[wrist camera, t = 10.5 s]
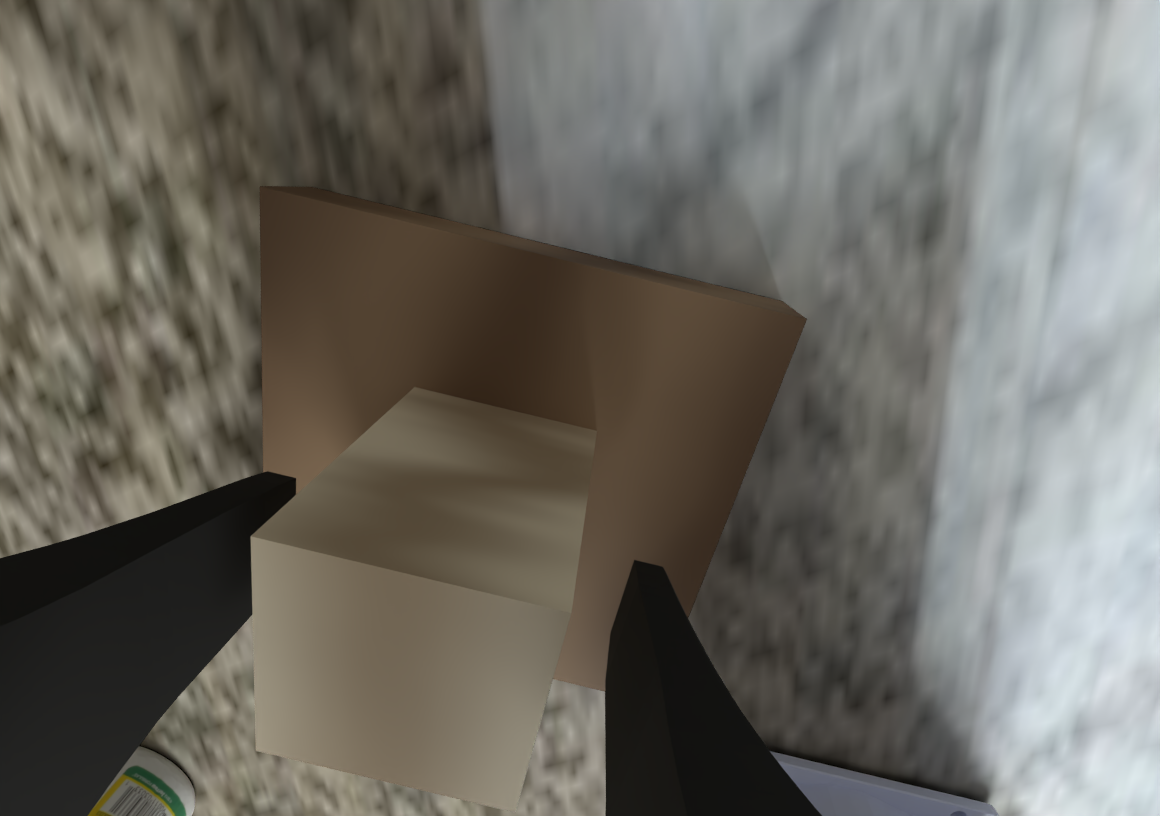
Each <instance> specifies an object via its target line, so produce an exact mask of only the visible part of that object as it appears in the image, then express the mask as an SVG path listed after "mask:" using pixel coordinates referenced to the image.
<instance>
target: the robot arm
mask: <svg viewBox="0 0 1160 816" xmlns="http://www.w3.org/2000/svg"><path fill="white" fill-rule="evenodd" d="M295 495H296V478H294V477H290V476H285V475H281V474H277V473H273V472H269V471H267V472H264V473H260V474H257V475H254V476H251V477H248V478H245V479H242V480H239V481H236V482H234V483H231V484H228V485H226V486H223V487H220V488H217V489H215V490H212V491H209V492H207V493H204V494H201V495H199V496H196V497H193V498H190V499H188V500H185V501H182V502H179V503H177V504H174V505H171V506H168V507H166V508H163V509H160V510H157V511H155V512H152V513H149V514H146V515H143V516H140V517H137V518H134V519H131V520H128V521H125V522H122V523H119V524H116V525H113V526H110V527H107V528H104V529H101V530H98V531H95V532H92V533H89V534H86V535H82V536H79V537H76V538H72V539H69V540H66V541H62V542H59V543H55V544H52V545H48V546H45V547H41V548H37V549H34V550H30V551H26V552H22V553H18V554H15V555H11V556H7V557H3V558H0V816H88V815H89V813H90V812H91V810H92V809H93V808H94V806H95V805H96V803H97V802H98V801H99V799H100V798H101V797H102V795H103V794H104V792H105V791H106V790H107V788H108V787H109V785H110V784H111V783H112V781H113V780H114V778H115V777H116V776H117V774H118V773H119V772H120V770H121V769H122V768H123V766H124V765H125V764H126V762H127V761H128V760H129V758H130V757H131V756H132V754H133V753H134V752H135V750H136V749H137V748H138V747H139V745H140V744H141V743H142V741H143V740H144V739H145V737H146V736H147V735H148V733H149V732H150V731H151V729H152V728H153V727H154V725H155V724H156V723H157V721H158V720H159V719H160V718H161V717H162V715H163V714H164V713H165V712H166V711H167V709H168V708H169V707H170V706H171V705H172V703H173V702H174V701H175V700H176V699H177V697H178V696H179V695H180V694H181V693H182V692H183V691H184V690H185V688H186V687H187V686H188V685H189V684H190V683H191V682H192V681H193V680H194V679H195V677H196V676H197V675H198V674H199V673H200V672H201V671H202V670H203V669H204V667H205V666H206V665H207V664H208V663H209V662H210V661H211V660H212V659H213V657H214V656H215V655H216V654H217V653H218V652H219V651H220V650H221V649H222V648H223V646H224V645H225V644H226V643H227V642H228V641H229V640H230V639H231V638H232V636H233V635H234V634H235V633H236V632H237V631H238V630H239V629H240V628H241V626H242V625H243V624H244V623H245V622H246V621H247V620H248V619H249V617H250V616H251V615H252V614H253V613H252V573H251V535H253V534H254V533H255V532H256V531H257V530H258V529H259V528H260V527H261V526H262V525H264V524H265V523H266V522H267V521H268V520H269V519H270V518H271V517H272V516H273V515H275V514H276V513H277V512H278V511H279V510H280V509H281V508H282V507H283V506H284V505H286V504H287V503H288V502H289V501H290V500H291V499H292V498H293V497H294V496H295ZM605 729H606V816H999V815H998V813H997V811H996V810H995V808H994V807H993V806H992V805H990V804H987V803H984V802H980V801H976V800H972V799H968V798H963V797H959V796H955V795H951V794H947V793H943V792H938V791H934V790H930V789H926V788H922V787H918V786H913V785H909V784H905V783H901V782H897V781H893V780H888V779H884V778H880V777H876V776H872V775H868V774H863V773H859V772H855V771H851V770H847V769H843V768H838V767H834V766H830V765H826V764H822V763H818V762H813V761H809V760H805V759H801V758H797V757H793V756H788V755H784V754H780V753H776V752H772V751H769V750H768V748H767V747H766V746H765V744H764V743H763V741H762V740H761V739H760V737H759V736H758V734H757V733H756V732H755V730H754V729H753V727H752V726H751V724H750V723H749V722H748V720H747V719H746V717H745V716H744V715H743V713H742V712H741V710H740V709H739V707H738V705H737V704H736V702H735V701H734V699H733V698H732V696H731V694H730V693H729V691H728V690H727V688H726V686H725V685H724V683H723V681H722V680H721V678H720V676H719V675H718V673H717V671H716V670H715V668H714V666H713V664H712V663H711V661H710V659H709V657H708V656H707V654H706V652H705V650H704V648H703V646H702V644H701V643H700V641H699V639H698V637H697V635H696V633H695V631H694V629H693V627H692V626H691V624H690V622H689V620H688V618H687V616H686V613H685V611H684V609H683V607H682V605H681V603H680V601H679V599H678V597H677V595H676V593H675V590H674V588H673V586H672V584H671V582H670V579H669V577H668V575H667V573H666V571H665V569H664V568H663V567H662V566H658V565H654V564H650V563H646V562H641V561H637V560H634V562H633V565H632V568H631V571H630V574H629V577H628V580H627V583H626V587H625V590H624V593H623V596H622V599H621V602H620V605H619V608H618V611H617V614H616V617H615V620H614V623H613V626H612V629H611V632H610V641H609V650H608V659H607V669H606V679H605Z"/></svg>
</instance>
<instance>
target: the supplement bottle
mask: <svg viewBox="0 0 1160 816" xmlns="http://www.w3.org/2000/svg"><path fill="white" fill-rule="evenodd" d="M194 807H195V792H194V788H193V786H192V784H191V782H190V780H189V779H188V777H187V776H186V775H185V774H184V772H183V771H182V770H181V769H179V768H178V767H177V766H176V765H175V764H174V763H173V762H171V761H170V760H168V759H167V758H165V757H163V756H162V755H160V754H158V753H156V752H154V751H152V750H149V749H147V748H144V747H140V746H139V747H138V748H137V749H136V750H135V752H134V753H133V754H132V756H131V757H130V758H129V760H128V761H127V762H126V764H125V765H124V766H123V768H122V769H121V770H120V772H119V773H118V774H117V776H116V777H115V778H114V780H113V781H112V783H111V784H110V785H109V787H108V788H107V790H106V791H105V792H104V794H103V795H102V797H101V798H100V799H99V801H98V802H97V803H96V805H95V806H94V808H93V809H92V810H91V812H90V813H89V815H88V816H192V814H193V811H194Z"/></svg>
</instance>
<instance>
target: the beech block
mask: <svg viewBox="0 0 1160 816" xmlns="http://www.w3.org/2000/svg"><path fill="white" fill-rule="evenodd" d="M596 434H597V431H595V430H591V429H587V428H583V427H579V426H574V425H570V424H566V423H562V422H558V421H554V420H549V419H545V418H541V417H537V416H533V415H529V414H525V413H520V412H516V411H512V410H508V409H504V408H500V407H495V406H491V405H487V404H483V403H479V402H475V401H471V400H466V399H462V398H458V397H454V396H450V395H446V394H441V393H437V392H433V391H429V390H425V389H421V388H417V387H414V388H413V389H412V390H411V391H410V392H409V393H408V394H406V395H405V396H404V397H403V398H402V399H401V400H400V401H399V402H398V403H397V404H395V405H394V406H393V407H392V408H391V409H390V410H389V411H388V412H387V413H386V414H384V415H383V416H382V417H381V418H380V419H379V420H378V421H377V422H376V423H375V424H373V425H372V426H371V427H370V428H369V429H368V430H367V431H366V432H365V433H364V434H362V435H361V436H360V437H359V438H358V439H357V440H356V441H355V442H354V443H353V444H351V445H350V446H349V447H348V448H347V449H346V450H345V451H344V452H343V453H342V454H340V455H339V456H338V457H337V458H336V459H335V460H334V461H333V462H332V463H331V464H329V465H328V466H327V467H326V468H325V469H324V470H323V471H322V472H321V473H320V474H318V475H317V476H316V477H315V478H314V479H313V480H312V481H311V482H310V483H309V484H307V485H306V486H305V487H304V488H303V489H302V490H301V491H300V492H299V493H298V494H297V495H295V496H294V497H293V498H292V499H291V500H290V501H289V502H288V503H287V504H286V505H284V506H283V507H282V508H281V509H280V510H279V511H278V512H277V513H276V514H275V515H273V516H272V517H271V518H270V519H269V520H268V521H267V522H266V523H265V524H264V525H262V526H261V527H260V528H259V529H258V530H257V531H256V532H255V533H254V534H253V535H251V573H252V613H253V653H254V692H255V732H256V751H259V752H263V753H268V754H272V755H276V756H280V757H284V758H289V759H293V760H297V761H301V762H305V763H310V764H314V765H318V766H322V767H326V768H331V769H335V770H339V771H343V772H347V773H352V774H356V775H360V776H364V777H368V778H373V779H377V780H381V781H385V782H389V783H393V784H398V785H402V786H406V787H410V788H414V789H419V790H423V791H427V792H431V793H435V794H440V795H444V796H448V797H452V798H456V799H461V800H465V801H469V802H473V803H477V804H482V805H486V806H490V807H494V808H498V809H503V810H507V811H511V812H516V808H517V804H518V801H519V797H520V794H521V790H522V787H523V783H524V780H525V776H526V773H527V769H528V765H529V762H530V758H531V755H532V751H533V748H534V744H535V741H536V737H537V734H538V730H539V726H540V723H541V719H542V716H543V712H544V709H545V705H546V702H547V698H548V694H549V691H550V687H551V684H552V680H553V677H554V673H555V670H556V666H557V663H558V659H559V655H560V652H561V648H562V645H563V641H564V638H565V634H566V631H567V627H568V623H569V620H570V616H571V612H572V605H573V598H574V591H575V584H576V577H577V570H578V563H579V555H580V548H581V541H582V534H583V527H584V520H585V513H586V506H587V499H588V491H589V484H590V477H591V470H592V463H593V456H594V449H595V442H596Z"/></svg>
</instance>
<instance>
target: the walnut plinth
mask: <svg viewBox="0 0 1160 816" xmlns="http://www.w3.org/2000/svg"><path fill="white" fill-rule="evenodd" d="M260 247H261V331H262V415H263V473H264V472H267V471H269V472H273V473H277V474H281V475H285V476H290V477H294V478H296V495H297V494H298V493H299V492H300V491H301V490H302V489H303V488H304V487H305V486H306V485H307V484H309V483H310V482H311V481H312V480H313V479H314V478H315V477H316V476H317V475H318V474H320V473H321V472H322V471H323V470H324V469H325V468H326V467H327V466H328V465H329V464H331V463H332V462H333V461H334V460H335V459H336V458H337V457H338V456H339V455H340V454H342V453H343V452H344V451H345V450H346V449H347V448H348V447H349V446H350V445H351V444H353V443H354V442H355V441H356V440H357V439H358V438H359V437H360V436H361V435H362V434H364V433H365V432H366V431H367V430H368V429H369V428H370V427H371V426H372V425H373V424H375V423H376V422H377V421H378V420H379V419H380V418H381V417H382V416H383V415H384V414H386V413H387V412H388V411H389V410H390V409H391V408H392V407H393V406H394V405H395V404H397V403H398V402H399V401H400V400H401V399H402V398H403V397H404V396H405V395H406V394H408V393H409V392H410V391H411V390H412V389H413V388H414V387H417V388H421V389H425V390H429V391H433V392H437V393H441V394H446V395H450V396H454V397H458V398H462V399H466V400H471V401H475V402H479V403H483V404H487V405H491V406H495V407H500V408H504V409H508V410H512V411H516V412H520V413H525V414H529V415H533V416H537V417H541V418H545V419H549V420H554V421H558V422H562V423H566V424H570V425H574V426H579V427H583V428H587V429H591V430H595V431H597V434H596V442H595V449H594V456H593V463H592V470H591V477H590V484H589V491H588V499H587V506H586V513H585V520H584V527H583V534H582V541H581V548H580V555H579V563H578V570H577V577H576V584H575V591H574V598H573V605H572V612H571V616H570V620H569V623H568V627H567V631H566V634H565V638H564V641H563V645H562V648H561V652H560V655H559V659H558V663H557V666H556V670H555V673H554V677H553V679H555V680H560V681H564V682H568V683H572V684H576V685H580V686H585V687H589V688H593V689H597V690H601V691H605V679H606V669H607V659H608V650H609V641H610V632H611V629H612V626H613V623H614V620H615V617H616V614H617V611H618V608H619V605H620V602H621V599H622V596H623V593H624V590H625V587H626V583H627V580H628V577H629V574H630V571H631V568H632V565H633V562H634V560H637V561H641V562H646V563H650V564H654V565H658V566H662V567H663V568H664V569H665V571H666V573H667V575H668V577H669V579H670V582H671V584H672V586H673V588H674V590H675V593H676V595H677V597H678V599H679V601H680V603H681V605H682V607H683V609H684V611H685V613H686V616H687V618H688V617H689V614H690V612H691V609H692V607H693V604H694V602H695V599H696V597H697V594H698V592H699V589H700V587H701V584H702V582H703V579H704V577H705V574H706V572H707V569H708V567H709V564H710V562H711V559H712V557H713V554H714V552H715V549H716V547H717V544H718V542H719V539H720V536H721V534H722V531H723V529H724V526H725V524H726V521H727V519H728V516H729V514H730V511H731V509H732V506H733V504H734V501H735V499H736V496H737V494H738V491H739V489H740V486H741V484H742V481H743V479H744V476H745V474H746V471H747V469H748V466H749V464H750V461H751V458H752V456H753V453H754V451H755V448H756V446H757V443H758V441H759V438H760V436H761V433H762V431H763V428H764V426H765V423H766V421H767V418H768V416H769V413H770V411H771V408H772V406H773V403H774V401H775V398H776V396H777V393H778V391H779V388H780V386H781V383H782V380H783V378H784V375H785V373H786V370H787V368H788V365H789V363H790V360H791V358H792V355H793V353H794V350H795V348H796V345H797V343H798V340H799V338H800V335H801V333H802V330H803V328H804V325H805V323H806V320H807V319H806V318H805V317H803V316H802V315H800V314H799V313H798V312H796V311H795V310H794V309H792V308H791V307H790V306H788V305H787V304H785V303H784V302H783V301H779V300H775V299H771V298H767V297H763V296H759V295H755V294H750V293H746V292H742V291H738V290H734V289H730V288H726V287H722V286H718V285H713V284H709V283H705V282H701V281H697V280H693V279H689V278H685V277H680V276H676V275H672V274H668V273H664V272H660V271H656V270H652V269H648V268H643V267H639V266H635V265H631V264H627V263H623V262H619V261H615V260H610V259H606V258H602V257H598V256H594V255H590V254H586V253H582V252H578V251H573V250H569V249H565V248H561V247H557V246H553V245H549V244H545V243H540V242H536V241H532V240H528V239H524V238H520V237H516V236H512V235H508V234H503V233H499V232H495V231H491V230H487V229H483V228H479V227H475V226H471V225H466V224H462V223H458V222H454V221H450V220H446V219H442V218H438V217H433V216H429V215H425V214H421V213H417V212H413V211H409V210H405V209H401V208H396V207H392V206H388V205H384V204H380V203H376V202H372V201H368V200H363V199H359V198H355V197H351V196H347V195H343V194H339V193H335V192H331V191H326V190H322V189H318V188H314V187H278V186H260Z"/></svg>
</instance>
